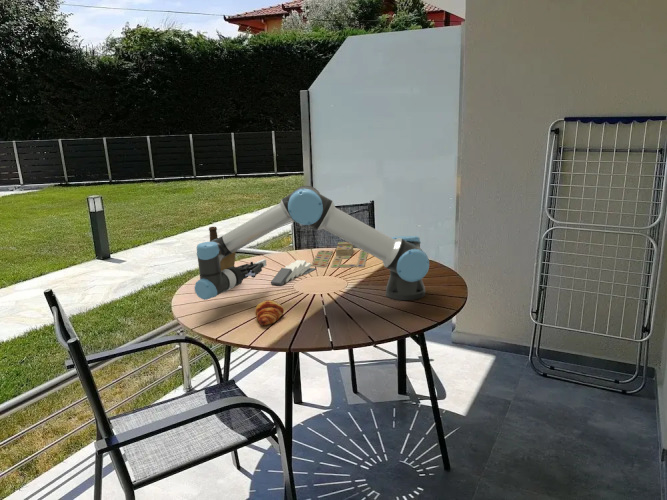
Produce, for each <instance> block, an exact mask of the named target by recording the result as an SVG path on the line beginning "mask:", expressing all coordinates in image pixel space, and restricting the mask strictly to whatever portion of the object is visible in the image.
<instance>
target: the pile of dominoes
mask: <svg viewBox="0 0 667 500" xmlns="http://www.w3.org/2000/svg"><path fill="white" fill-rule="evenodd" d="M332 252H333V253H332ZM353 252H354V245H352V244H350V243H348V242H347V241H338V242H337V246H336V249H335V256H334V258H333V260H332V261H331V262H332V263H331V265H330V268H331V269H336V268H341V269H342V268H343V269H345V268H346V269H347V268H349V269H350V268H352V267H354V268H357V267H359V268H365V267H364V266H366V263H367V260H366V259H368V255H367V254H369V253H367V252H365V251H363V250H362V249H360V251H359V256H358V260H357V262H356V264H355V263H351V264H349V263H348V264H341V263H342V260H350V259H351V258H350V257H351V256H353ZM332 254H333V255H334V251H333V250H319V251H317V253H316V255H315V257H313V260H312V263H311V267H313V268H314V267H316V268H326V267H328V264H329V263H330V260H331V258H332V257H331V256H333V255H332ZM365 262H366V263H365Z"/></svg>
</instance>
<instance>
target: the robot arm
mask: <svg viewBox="0 0 667 500" xmlns="http://www.w3.org/2000/svg"><path fill="white" fill-rule="evenodd" d="M289 222H293V223H295V222H296V223H297V224H299V225H303V226H308V227H309V228H311V229H314V230H315V231H320V230H325V231H327V232H328V233H330V234H332V235H333V236H335V237H338V238H339V239H340V240H341V239H342V240H343V241H344V242H348V243H350V244H352V245H353V247H356V248H358V249H360V250H363V251H365V252H367V253H368V254H369V255H371V256H373V257H375V258H377V259H379V260H380V261H382V263H383V267H384V268H386V269H388V270H389V276H388V277H389V278H388V280H387V284H386V288H385V296H387V298H389V299H392V300H397V301H414V300H415V301H416V300H419V299H421V298H423V297H425V296H426V286H425V285H424V281H423V279H424V278H425V276H426V275H427V273H428V272H429V268H430V260H429V257H428V254H427V253H426V252H425V251H424V250H422V248H421V239H420V237H419V236H417V235H399V236H398V235H397V236H391V237H390V236H389V235H387V234H385V233H383V232H381V231H379V230H378V229H376V228H374V227H372V226H370V225H368V224H366V222H363V221H361V220H359V219H358V218H355V217H354V216H353V215H352V216H351V215H350V214H349V213H347V212H345V211H343V210H341V209H339V208H337V207H336V206H335V203H334V200H331V199H330V198H328V197H327V196H325V195H323V194H321V192H319V190H318V189H317V188H316V187H314V186H311V185H302V186H299V187H297V188H295V190H293V191H292V192H290V193H289V194H288V195H286V196H285V197H283V198H282V199H281V200H280V203H278V204H276V205H275V206H273V207H271V208H269V209H267V210H266V211H264V212H262V213H260V214H258V215H257V216H255V217H253V218H251V219H249V220H248V221H246V222H244V223H243V224H241V225H239V226H236V227H235V228H234V229H231V230H230V231H228V232H226V233H225V234H222V235H221V236H220V237H218V239H214V240H212V241H211V242H210V241H205V242H204V241H203V242H200V243H198V244H197V245H196V257H197V262H198V270H199V271H198V272H199V280H197V281H196V282H195V285H194V292H195V294H196V296H197V297H198V298H199V299H201V300H204V301H205V300H209V299H212V298H215V297H217V296H219V295H221V294H222V293H227V292H228V291H229V290H231V289H232V288H235V287H237V286H240V285H241V284H242V282H243V281H244V280H245V279H247V278H248V277H251V278H256V276H257V275H258V274H260V273H261V272H262V271H263V268H265V267H267V259H264V258H262V259H260V260H258V261H256V262H254V261H250V262H249V263H245V264H242V265H238V266H235V265H234V266H233V267H229V268H227V269H224V270H222V271H221V265H220V261H221V260H222V259H223V258H225V257H226V256H228V255H230V254H232V253H233V252H235V251H236V252H237V251H238V250H240V249H242V248H244V247H246V246H247V245H249V244H252V243H253V242H255V241H257V240H259V239H261V238H262V237H264V236H265V235H267V234H269V233H271V232H273V231H274V230H277V229H278V228H280V227H282V226H284V225H286V224H287V223H289ZM236 252H235V253H236Z"/></svg>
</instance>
